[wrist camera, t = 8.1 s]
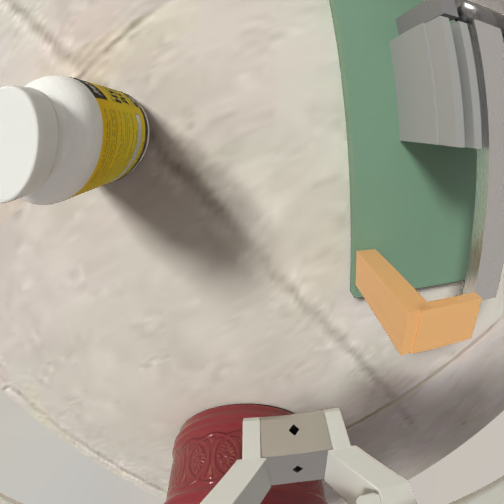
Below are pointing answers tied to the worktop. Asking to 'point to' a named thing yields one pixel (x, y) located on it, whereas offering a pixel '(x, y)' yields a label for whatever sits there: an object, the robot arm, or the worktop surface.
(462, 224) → the heatsink base
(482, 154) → the strap
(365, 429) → the worktop surface
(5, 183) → the supplement bottle
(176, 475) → the canister
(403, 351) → the bracket
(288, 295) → the worktop surface
